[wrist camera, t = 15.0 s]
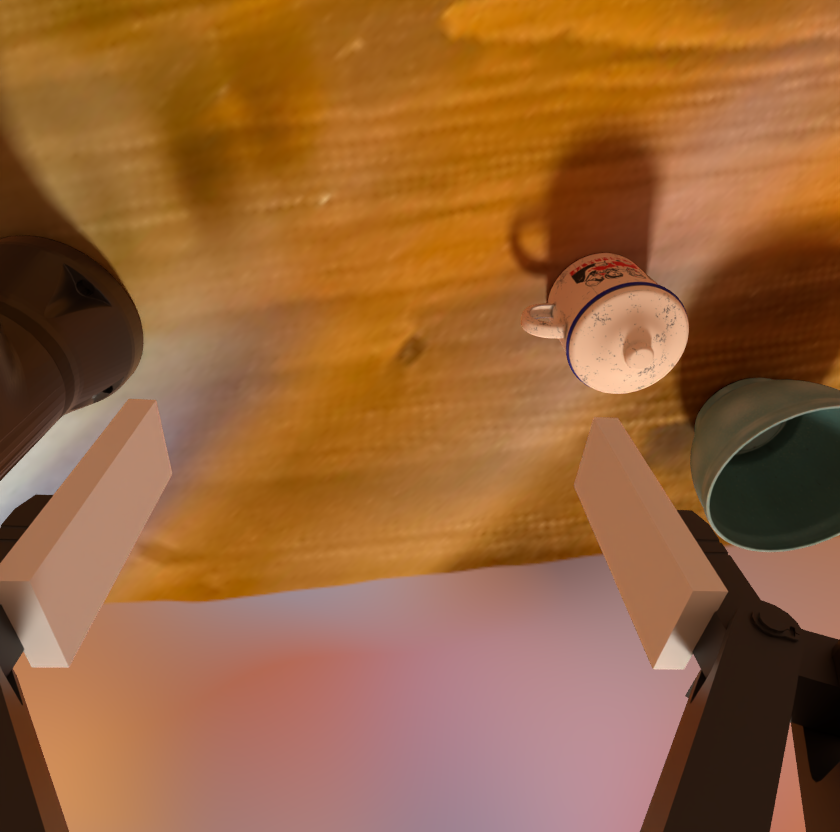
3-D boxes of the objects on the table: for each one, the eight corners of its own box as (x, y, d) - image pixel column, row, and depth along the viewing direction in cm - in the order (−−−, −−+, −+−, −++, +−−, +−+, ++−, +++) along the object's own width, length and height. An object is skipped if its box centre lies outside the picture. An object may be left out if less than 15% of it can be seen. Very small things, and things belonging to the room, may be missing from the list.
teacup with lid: (659, 250, 46) (726, 300, 36) (633, 348, 51) (685, 415, 41) (518, 246, 46) (547, 295, 36) (505, 344, 51) (528, 411, 41)
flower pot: (802, 471, 59) (873, 544, 50) (651, 486, 60) (694, 561, 51) (846, 335, 51) (942, 394, 42) (669, 355, 52) (724, 417, 42)
